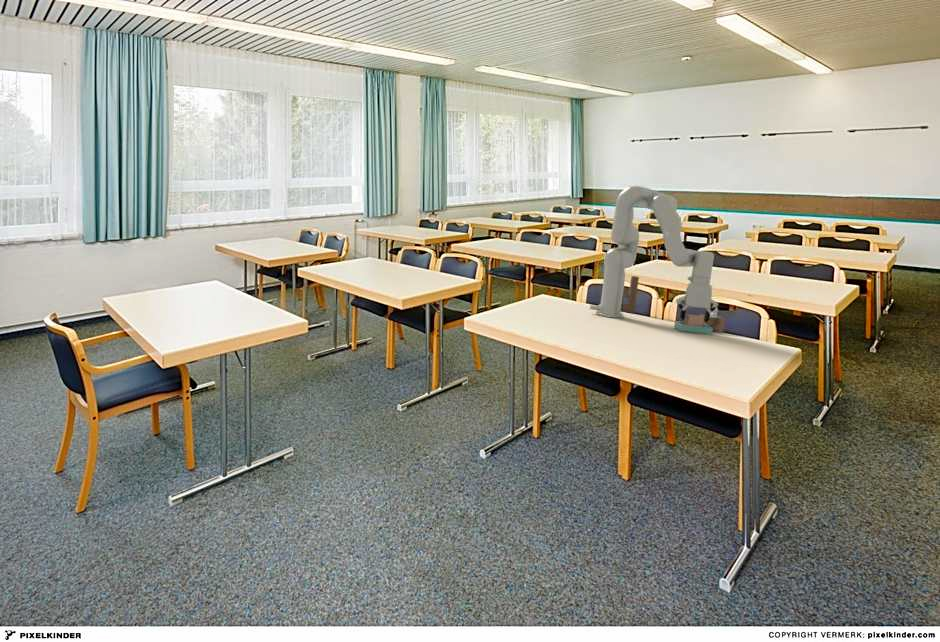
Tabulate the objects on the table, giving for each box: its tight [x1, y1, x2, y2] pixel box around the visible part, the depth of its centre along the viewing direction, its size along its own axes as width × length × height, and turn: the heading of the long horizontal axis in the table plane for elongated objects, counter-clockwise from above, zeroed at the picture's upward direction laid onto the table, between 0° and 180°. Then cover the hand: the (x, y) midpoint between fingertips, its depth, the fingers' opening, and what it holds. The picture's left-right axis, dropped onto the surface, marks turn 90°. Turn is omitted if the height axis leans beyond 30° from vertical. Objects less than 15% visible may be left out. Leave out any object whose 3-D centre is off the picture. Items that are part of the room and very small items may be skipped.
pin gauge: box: [710, 307, 719, 318], centre depth 256 cm, size 3×3×10 cm
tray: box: [673, 320, 713, 335], centre depth 249 cm, size 13×10×3 cm
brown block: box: [700, 314, 726, 334], centre depth 256 cm, size 8×8×6 cm
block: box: [683, 313, 704, 327], centre depth 249 cm, size 6×6×6 cm
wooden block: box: [621, 275, 640, 314], centre depth 291 cm, size 4×11×18 cm, turn 52°
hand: (694, 320), depth 249 cm, fingers open, 9 cm apart
